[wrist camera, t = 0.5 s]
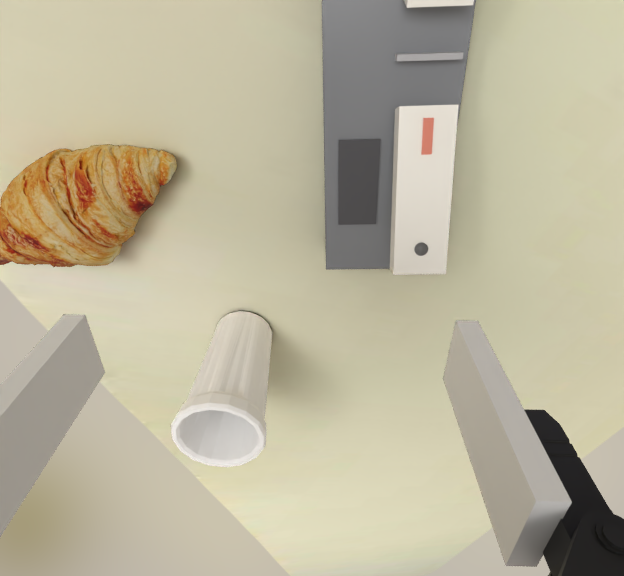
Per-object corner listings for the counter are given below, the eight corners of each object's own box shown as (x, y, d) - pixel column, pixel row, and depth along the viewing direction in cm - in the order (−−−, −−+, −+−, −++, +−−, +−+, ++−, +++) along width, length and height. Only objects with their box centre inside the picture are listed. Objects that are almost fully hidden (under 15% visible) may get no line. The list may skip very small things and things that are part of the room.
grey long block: (317, -296, 23) (316, -356, 20) (502, -308, 23) (537, -372, 19) (325, 251, 42) (326, 275, 38) (428, 249, 41) (438, 273, 38)
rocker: (395, 109, 31) (399, 106, 29) (450, 107, 31) (459, 104, 29) (389, 268, 35) (393, 275, 33) (439, 267, 34) (446, 274, 32)
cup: (236, 288, 44) (203, 390, 32) (295, 329, 47) (286, 436, 35) (194, 333, 48) (151, 440, 36) (252, 369, 51) (230, 479, 39)
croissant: (171, 113, 39) (111, 82, 31) (215, 215, 39) (168, 210, 31) (4, 212, 44) (-82, 207, 36) (44, 302, 44) (-33, 316, 36)
